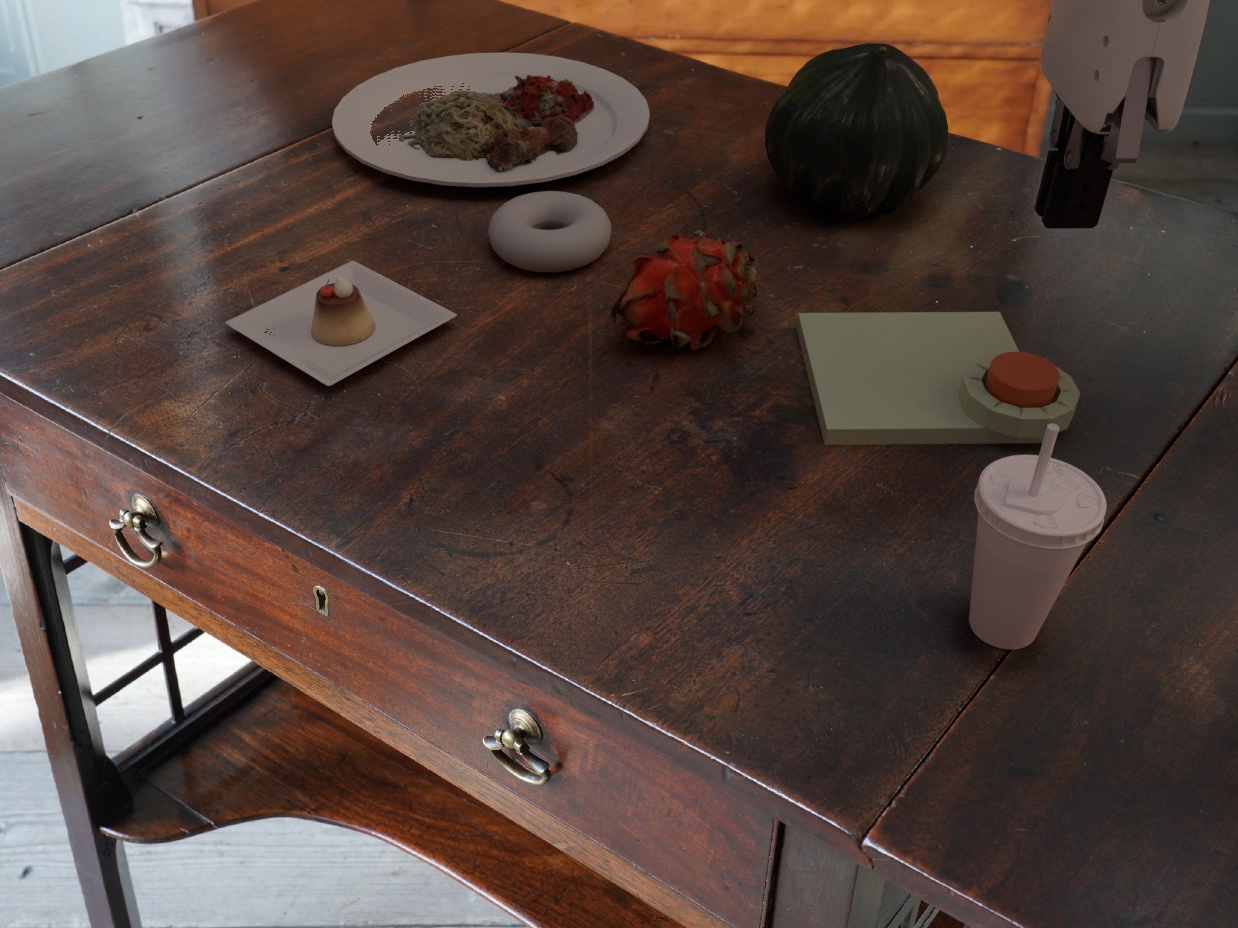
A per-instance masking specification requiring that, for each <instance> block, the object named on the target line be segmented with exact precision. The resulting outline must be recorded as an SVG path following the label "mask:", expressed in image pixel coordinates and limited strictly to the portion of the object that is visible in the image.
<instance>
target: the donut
mask: <svg viewBox="0 0 1238 928" xmlns="http://www.w3.org/2000/svg"><path fill="white" fill-rule="evenodd" d="M612 229H613V228H612V222H611V220H610V218H609V217H608V215H607V213H606V211H605V210H604V209H603V207H601V206H600V205H598V204H597V203H596V202H594V200H593V199H590V198H588V197H586V196H583V195H580V194H578V193H572V192H568V191H560V190H559V191H558V190H557V191H555V190H545V191H544V190H543V191H534V192H529V193H525V194H522V195H517V196H515V197H514V198H512V199H509V200H508V201H506V202H504V203H503V204H502V205H501V206H500V207H499V208H497V210H496V211H495V212H494V213H493V214H492V216H491V218H490V222H489V224H488V228H487V235H488V241H489V242H490V245H491V248H492V250H493V251H494V253H495V254H496V255H498V257H500V258H501V259H502V260H503V261H504V262H505V263H507V264H509V265H511V266H513V267H515V268H517V269H520V270H525V271H529V272H534V273H549V274H551V273H552V274H553V273H562V272H570V271H573V270H576V269H580V268H583V267H585V266H587V265H589V264H591V263H593V262H594V261H596V260H597V259H599V258H600V257H601V256H602V254H603V253H604V252H605V251H606V249H607V248H608V246H609V245H610V243H611V242H610V241H611V236H612Z"/></svg>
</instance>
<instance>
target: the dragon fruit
mask: <svg viewBox="0 0 1238 928" xmlns="http://www.w3.org/2000/svg"><path fill="white" fill-rule="evenodd" d="M693 235H694V236H696V237H695V238H694V239H689V238H686V237H684V236H683V235H682V234H680V233H676V234H673V235H672V236H671V237H666V238H665V239H663V240H662V241H661V242H660V243H658V244H657V247H656V248H655V250H652V251H648V252H645V253H642V254H640V255H638V256H636V257H634V258H633V260H632V262H631V264H630V267H629V272H628V276H627V279H626V282H625V283H624V284H623V287H622V288H621V290H620V292H619V296H618V298H617V300H616V301H615V302H614V304H613V305H612V307H611V313H610V320H611V323H612V324H615V323H616V322H617V319H616V318H617V316H619V317H620V319H621V321H625V322H627V323H629V325H633V326H634V327H631V328H629V329H627V330H626V331H625V335H626V337H627V339H628V340H631V341H634V342H638V343H643V344H644V345H646V346H647V345H653V346H654V345H655V346H656V344H659V343H661V342H663V340H668V342H669V344H670V345H673V346H674V347H675V348H677V349H678V348H681V347H683V346H684V345H686V344H689V348H690V350H691V351H697V350H699V349H702V348H705V347H706V346H707V345H708V344H711V342H713V337H715V336H718V335H719V333H721V332H722V331H724V332H726V333H734V332H738V331H740V330H741V328H742V324H743V322H742V321H743V320H746V319H750V318H752V316H754V314H755V312H756V310H755V309H753V310H752V311H751V310H748V309H747V308H746V306H748V305H750V304H751V303H752V301H753V300H754V299H755V298H757V294H758V291H757V284H756V283H755V282H756V281H757V280H758V278H759V277H758V275H757V273H758V263H759V260H758V259H756V258H755V257H753V256H752V255H751V254H750V253H749V252H746V251H745V252H743V251H742V249H743V244H742V243H739V242H737V241H729V242H726V240H724V239H723V238H721V237H719V238H717V239H716V240H714V239H712V238H711V237H710V234H709V233H707V232H704V231H702V230H701V229H697V230H695V231H694V232H693ZM731 318H732V319H735V320H738V324H734V322H733V321H732V320H731ZM704 334H705V335H704ZM702 335H704V338H703V340H702Z"/></svg>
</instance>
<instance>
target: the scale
mask: <svg viewBox="0 0 1238 928" xmlns="http://www.w3.org/2000/svg"><path fill="white" fill-rule="evenodd" d="M1003 317H1004V316H1003V315H1002V313H1001V311H906V312H905V311H903V312H902V311H901V312H900V311H898V312H896V311H895V312H894V311H893V312H890V311H889V312H888V311H887V312H886V311H885V312H882V311H880V312H878V311H877V312H798V313H797V317H796V325H795V328H796V333H797V337H798V341H799V345H800V350H801V354H802V357H803V361H804V366H805V370H806V374H807V378H808V383H809V386H810V391H811V395H812V398H813V399H812V400H813V402H814V407H815V411H816V416H817V419H818V424H819V428H820V432H821V436H822V440H823V444H824V445H825V446H855V445H856V446H857V445H859V446H860V445H862V446H863V445H867V446H868V445H869V446H870V445H972V444H973V445H974V444H975V445H977V444H978V445H979V444H980V445H981V444H983V445H985V444H986V445H988V444H990V445H991V444H994V445H995V444H996V445H997V444H1042V443H1043V439H1044V436H1045V432H1046V429H1047V426H1048V424H1056V425H1058V426H1059V431H1058V433H1061V432H1062V431H1065V430H1067V429H1068V428H1069V427H1070V425H1071V422H1072V420H1073V417H1074V416H1075V413H1076V410H1077V406H1078V403H1079V401H1080V396H1081V392H1080V390H1079V388H1078V386H1077V385H1076V383H1075V380H1074V379H1073V377H1072V376H1071V375H1070V374H1068V373H1067V372H1065V371H1063V370H1062V369H1061V368H1059V367H1058V366H1056V365H1054V366H1055V367H1056V368H1057V370H1058V372H1059V381H1058V385H1057V388H1056V392H1055V395H1054V398H1053V400H1052V401H1051V402H1050V403H1049V404H1048V405H1046V406H1043V407H1040V408H1020V407H1016V406H1013V405H1010V404H1006V403H1003V402H1000V401H999V400H997V399H996V398H994V397H993V396H992V395H990V393H989V392H988V390H987V388H986V379H987V375H988V371H989V367H990V363H991V361H992V360H993V359H994V358H995V357H996V356H998V355H1000V354H1003V353H1007V352H1020V350H1019V348H1018V346H1017V344H1016V342H1015V339H1014V338H1013V336H1012V334H1011V332H1010V329H1009V328H1008V326H1007V323H1006V321H1005V319H1004V318H1003Z"/></svg>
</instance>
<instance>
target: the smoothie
mask: <svg viewBox="0 0 1238 928" xmlns="http://www.w3.org/2000/svg"><path fill="white" fill-rule="evenodd" d="M1058 431H1059V426H1058V425H1056V424H1048V426H1047V429H1046V432H1045V436H1044V439H1043V443H1041V447H1040V449H1039V454H1013V455H1010V456H1005V457H1002V458H999V459H997V460H994V461H993V462H991V463H989V464H988V465H987V466H986V467H984V469H983V470H982V471H981V474H980V475H979V478H978V482H977V484H976V487H975V489H974V499H973V501H974V504H975V507H976V510H977V514H978V515H977V523H976V536H975V545H974V546H975V547H974V558H973V568H972V580H971V590H970V591H971V592H970V601H969V611H968V612H969V613H968V624H969V627H970V629H971V631H972V632H973V633H974V635H976V637H977V638H979V640H981V641H982V642H984V643H986V644H988V645H990V646H992V647H994V648H997V649H1002V650H1018V649H1020V650H1021V649H1023V648H1026V647H1028V646H1029V645H1031V644H1032V643H1033V642H1034V641H1035V640H1036V638H1037V636H1038V634H1039V632H1040V631H1041V629H1042V627H1043V625H1044V623H1045V621H1046V619H1047V618H1048V615H1050V612H1051V611H1052V608H1053V606H1054V605H1055V602H1056V601H1057V599H1058V597H1059V595H1060V593H1061V591H1062V590H1063V588H1064V586H1065V584H1066V583H1067V580H1068V578H1069V577H1070V575H1071V573H1072V571H1073V569H1074V567H1075V565H1076V564H1077V562H1078V560H1079V558H1080V556H1081V555H1082V553H1083V552H1084V549H1085V548H1086V546H1087V543H1089V542H1091V541H1093V540H1094V538H1096V537H1097V536H1098V535H1099V534H1100V533H1101V530H1102V528H1103V525H1104V523H1105V516H1106V513H1107V507H1108V506H1107V504H1108V503H1107V499H1106V496H1105V494H1104V492H1103V489H1102V488H1101V487H1100V486H1099V485H1098V483H1097V482H1096V481H1095V480H1094V479H1093V478H1092V477H1091V476H1089V475H1088V474H1087V473H1085V472H1084V471H1083V470H1081V469H1079V468H1078V467H1076V466H1074V465H1072V464H1070V463H1067V462H1065V461H1063V460H1060V459H1056V458H1053V457H1052V455H1053V452H1054V447H1055V444H1056V441H1057V437H1058V435H1059V432H1058Z"/></svg>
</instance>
